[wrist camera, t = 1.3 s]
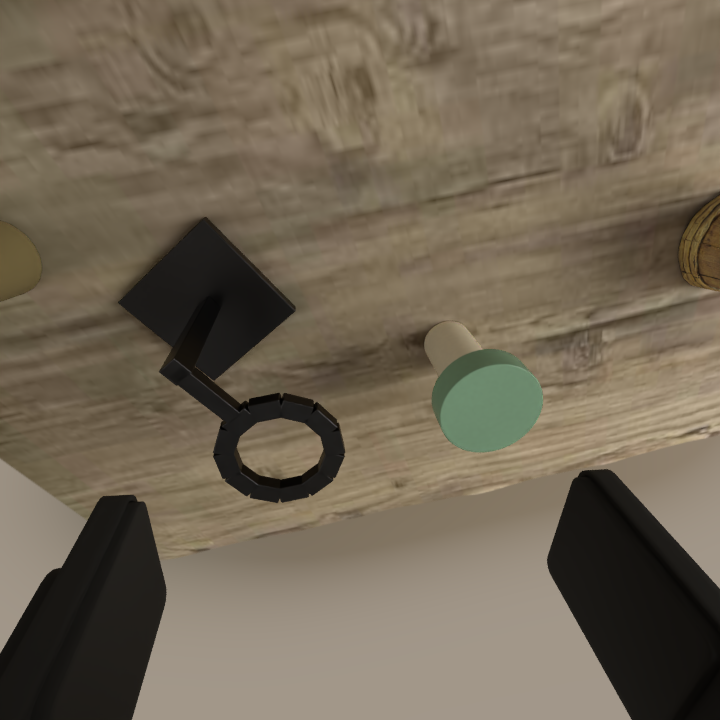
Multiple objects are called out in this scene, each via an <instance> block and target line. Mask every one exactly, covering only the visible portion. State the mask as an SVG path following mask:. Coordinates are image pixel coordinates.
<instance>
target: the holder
mask: <svg viewBox="0 0 720 720" xmlns="http://www.w3.org/2000/svg"><path fill="white" fill-rule="evenodd" d="M118 303H119V304H120V305H121V306H122V307H124V308H125V309H126V310H127V311H129V312H130V313H131V314H132V315H134V316H135V317H136V318H137V319H138V320H140V321H141V322H142V323H143V324H145V325H146V326H147V327H148V328H150V329H151V330H152V331H153V332H154V333H156V334H157V335H158V336H159V337H161V338H162V339H163V340H164V341H166V342H167V343H168V344H169V345H170V346H172V347H173V348H172V350H171V352H170V353H169V355H168V357H167V359H166V360H165V362H164V364H163V366H162V367H161V369H160V371H159V372H160V373H161V374H162V375H163V376H165V377H166V378H167V379H169V380H170V381H171V382H172V383H174V384H175V385H176V386H177V385H178V386H180V387H181V388H182V389H184V390H185V391H186V392H188V393H189V394H190V395H191V396H193V397H194V398H195V399H197V400H198V401H199V402H200V403H202V404H203V405H204V406H206V407H207V408H208V409H210V410H211V411H212V412H213V413H215V414H216V415H217V416H219V417H220V418H221V419H222V420H223V421H222V422H221V426H220V429H219V433H218V436H217V440H216V443H215V447H214V451H213V453H214V456H213V457H214V460H215V462H216V464H217V467H218V469H219V471H220V474H221V476H222V478H223V479H225V478H226V479H225V482H227V483H228V484H230V485H231V486H232V487H234V488H235V489H237V490H238V491H240V492H241V493H242V494H244V495H245V496H248V495H249V494H250V498H253V499H259V500H264V501H270V502H275V503H278V501H279V499H280V500H281V502H287V501H292V500H297V499H302V498H307V497H309V494H311V495H312V496H313V495H314V494H316V493H317V492H318V491H320V490H321V489H322V488H324V487H325V486H327V485H328V484H329V483H331V482H332V481H333V478H335V477H336V475H337V473H338V471H339V468H340V466H341V464H342V461H343V459H344V457H345V456H344V453H345V448H344V442H343V438H342V434H341V429H340V425H339V423H337V419H336V418H334V417H333V416H332V415H331V414H330V413H329V412H328V411H327V410H326V409H324V408H323V407H322V406H321V405H320V404H319V403H318V402H316V403H315V404H314V401H313V400H312V399H308V398H304V397H299V396H295V395H291V394H287V393H284V394H283V396H282V398H281V395H280V393H275V394H270V395H266V396H261V397H256V398H251V399H249V403H248V402H247V401H244V402H243V403H242V404H240V403H239V402H237V401H236V400H235V399H234V398H232V397H231V396H230V395H229V394H228V393H226V392H225V391H224V390H223V389H221V388H220V387H219V386H218V385H216V384H215V383H214V382H213V381H212V380H215V379H217V378H218V377H219V376H220V375H221V374H222V373H224V372H225V371H226V370H227V369H228V368H230V367H231V366H232V365H233V364H234V363H235V362H237V361H238V360H239V359H240V358H241V357H242V356H244V355H245V354H246V353H247V352H248V351H249V350H251V349H252V348H253V347H254V346H255V345H256V344H258V343H259V342H260V341H261V340H262V339H263V338H265V337H266V336H267V335H268V334H269V333H270V332H272V331H273V330H274V329H275V328H276V327H277V326H279V325H280V324H281V323H282V322H283V321H284V320H286V319H287V318H288V317H289V316H290V315H291V314H293V313H294V312H295V306H294V305H293V304H292V303H291V302H290V301H289V300H288V299H287V298H286V297H285V296H284V295H283V294H282V293H281V292H280V291H279V290H278V289H277V288H276V287H275V286H274V285H273V284H272V283H271V282H270V281H269V280H268V279H267V278H266V277H265V276H264V275H263V274H262V273H261V272H260V271H259V270H258V269H257V268H256V267H255V266H254V265H253V264H252V263H251V262H250V261H249V260H248V259H247V258H246V257H245V256H244V255H243V254H242V253H241V252H240V251H239V250H238V249H237V248H236V247H235V246H234V245H233V244H232V243H231V242H230V241H229V240H228V239H227V238H226V237H225V236H224V235H223V234H222V233H221V232H220V231H219V230H218V228H217V227H216V226H215V225H214V224H213V223H212V222H211V221H210V220H209V219H208V218H207V217H205V218H204V219H203V220H202V221H200V222H199V223H198V224H197V225H196V226H195V227H194V228H193V229H192V230H191V231H190V232H189V233H188V234H187V235H186V236H185V237H184V238H183V239H182V240H181V241H180V242H179V243H178V244H177V245H176V246H175V247H174V248H173V249H172V250H171V251H170V252H169V253H168V254H167V255H166V256H165V257H164V258H163V259H162V260H161V261H160V262H159V263H158V264H157V265H156V266H155V267H154V268H153V269H152V270H151V271H149V272H148V273H147V274H146V275H145V276H144V277H143V278H142V279H141V280H140V281H139V282H138V283H137V284H136V285H135V286H134V287H133V288H132V289H131V290H130V291H129V292H128V293H127V294H126V295H125V296H124V297H123V298H122V299H121V300H120V301H119V302H118ZM195 366H196V367H198V368H199V369H200V370H201V371H202V372H204V373H205V374H206V375H207V376H209V377H210V378H211V379H212V380H210V379H209V378H208V377H207V376H205V375H204V374H203V373H202V372H200V371H199V370H198V369H197V368H195ZM277 418H285V419H289V420H293V421H298V422H302V423H305V424H306V425H307V426H309V427H310V428H311V429H312V430H313V431H314V432H316V433H317V434H318V435H319V436H320V437H321V441H322V444H323V448H324V450H323V452H322V455H321V457H320V460H319V462H318V464H316V465H315V466H313V467H312V468H311V469H309V470H308V471H307V472H305V473H304V474H303V475H301V476H296V477H292V478H287V479H282V480H280V479H275V478H270V477H265V476H260V475H258V474H256V473H255V472H254V471H252V470H251V469H249V468H248V467H247V466H245V465H244V464H243V463H242V460H241V458H240V455H239V453H238V450H237V444H238V441H239V438H240V436H241V435H242V434H243V433H245V432H246V431H247V430H248V429H250V428H251V427H252V426H253V425H255V424H256V423H257V422H262V421H267V420H272V419H277Z"/></svg>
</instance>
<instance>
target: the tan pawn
mask: <svg viewBox="0 0 720 720" xmlns="http://www.w3.org/2000/svg"><path fill="white" fill-rule="evenodd" d="M41 272H42V265H41V258H40V256H39V254H38V252H37V250H36V248H35V245H34V244H33V243H32V242H31V241H30V240H29V239H28V237H27V236H26V235H25V234H24V233H22V232H21V231H20V230H18V229H17V228H15V227H14V226H13V225H11V224H8V223H6V222H3V221H1V220H0V302H1V301H4V300H7V299H10V298H12V297H15V296H18V295H21V294H24V293H26V292H28V291H29V290H31V289H33V288H34V287H35V285H36V284H37V283H38V282H39V280H40V276H41Z"/></svg>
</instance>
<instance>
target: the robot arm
mask: <svg viewBox="0 0 720 720" xmlns="http://www.w3.org/2000/svg"><path fill="white" fill-rule="evenodd" d="M547 564H548V569H549V572H550V574H551V576H552V578H553V580H554V581H555V583H556V585H557V587H558V589H559V590H560V592H561V594H562V596H563V597H564V599H565V601H566V603H567V604H568V606H569V608H570V610H571V612H572V614H573V615H574V617H575V619H576V621H577V622H578V624H579V626H580V628H581V630H582V631H583V633H584V635H585V637H586V639H587V640H588V642H589V644H590V646H591V647H592V649H593V651H594V653H595V655H596V656H597V658H598V660H599V662H600V663H601V665H602V667H603V669H604V671H605V673H606V674H607V676H608V678H609V680H610V681H611V683H612V685H613V687H614V689H615V690H616V692H617V694H618V696H619V698H620V699H621V701H622V703H623V705H624V706H625V708H626V710H627V712H628V714H629V716H630V717H631V719H632V720H720V589H719V588H718V586H717V585H716V584H715V583H714V582H713V581H712V580H711V579H710V578H709V576H708V575H707V574H706V573H705V572H704V571H703V570H702V569H701V568H700V567H699V565H698V564H697V563H696V562H695V561H694V560H693V559H692V558H691V557H690V556H689V554H688V553H687V552H686V551H685V550H684V549H683V548H682V547H681V546H680V545H679V543H678V542H677V541H676V540H675V539H674V538H673V537H672V536H671V535H670V534H669V533H668V532H667V530H666V529H665V528H664V527H663V526H662V525H661V524H660V523H659V522H658V520H657V519H656V518H655V517H654V516H653V515H652V514H651V513H650V512H649V511H648V509H647V508H646V507H645V506H644V505H643V504H642V503H641V502H640V501H639V500H638V498H637V497H636V496H635V495H634V494H633V493H632V492H631V491H630V490H629V489H628V488H627V486H626V485H625V484H624V483H623V482H622V481H621V480H620V479H619V478H618V476H617V475H616V474H615V473H613V472H612V471H611V470H608V469H604V470H586V471H582V472H581V473H580V474H579V476H578V477H577V478H575V479H574V480H573V481H572V484H571V487H570V490H569V493H568V496H567V499H566V503H565V505H564V508H563V512H562V515H561V517H560V520H559V524H558V527H557V530H556V533H555V536H554V539H553V542H552V545H551V548H550V551H549V554H548V559H547ZM165 602H166V585H165V580H164V576H163V572H162V569H161V564H160V560H159V556H158V552H157V548H156V544H155V540H154V536H153V532H152V527H151V523H150V519H149V515H148V511H147V507H146V504H145V502H137V499H136V497H135V496H134V495H119V496H103V497H102V498H100V500H99V501H98V502H97V504H96V506H95V508H94V510H93V512H92V513H91V515H90V517H89V519H88V521H87V522H86V524H85V526H84V528H83V530H82V532H81V533H80V535H79V537H78V539H77V541H76V543H75V544H74V546H73V548H72V550H71V552H70V554H69V555H68V557H67V559H66V561H65V563H64V564H63V566H62V568H58V569H54V570H52V571H51V572H50V573H48V574H47V575H46V577H45V578H44V580H43V581H42V582H41V584H40V586H39V588H38V589H37V591H36V593H35V594H34V596H33V598H32V600H31V601H30V603H29V605H28V606H27V608H26V610H25V612H24V613H23V615H22V617H21V619H20V620H19V622H18V624H17V626H16V627H15V629H14V631H13V633H12V635H11V636H10V638H9V639H8V641H7V643H6V645H5V646H4V648H3V650H2V652H1V653H0V720H132V717H133V714H134V710H135V707H136V703H137V700H138V696H139V693H140V690H141V686H142V683H143V679H144V676H145V672H146V669H147V665H148V662H149V658H150V655H151V651H152V648H153V645H154V641H155V638H156V634H157V631H158V627H159V624H160V620H161V617H162V613H163V610H164V606H165Z"/></svg>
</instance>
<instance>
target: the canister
mask: <svg viewBox="0 0 720 720" xmlns="http://www.w3.org/2000/svg"><path fill="white" fill-rule="evenodd" d="M424 349H425V352H426V354H427V356H428V358H429V360H430V362H431V364H432V365H433V367H434V369H435V371H436V373H437V375H438V377H439V378H438V379H437V381H436V383H435V386H434V389H433V392H432V407H433V411H434V414H435V416H436V418H437V420H438V422H439V425H440V427H441V429H442V431H443V433H444V435H445V436H446V438H447V439H448V440H449V441H450V442H451V443H452V444H454V445H455V446H457V447H459V448H461V449H463V450H467V451H471V452H490V451H495V450H499V449H502V448H505V447H507V446H509V445H511V444H513V443H515V442H516V441H518V440H519V439H520V438H522V437H523V436H524V435H525V434H526V433H528V431H529V430H530V429H531V428H532V427H533V425H534V424H535V423H536V421H537V419H538V417H539V415H540V412H541V409H542V405H543V393H542V389H541V386H540V384H539V382H538V380H537V379H536V378H535V376H534V375H533V374H532V373H531V372H530V371H529V370H528V369H527V368H526V367H525V365H524V364H523V363H522V362H521V361H520V360H519V359H518V358H517V357H515V356H514V355H512V354H510V353H508V352H505V351H502V350H496V349H482V347H481V346H480V345H479V343H478V342H477V341H476V340H475V338H474V337H473V336H472V335H471V333H470V332H469V331H468V330H467V328H466V327H465V326H464V325H462V324H461V323H459V322H455V321H445V322H442V323H439V324H437V325H436V326H434V327H433V328H432V329H431V330H430V331H429V332H428V334H427V336H426V338H425V341H424Z"/></svg>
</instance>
